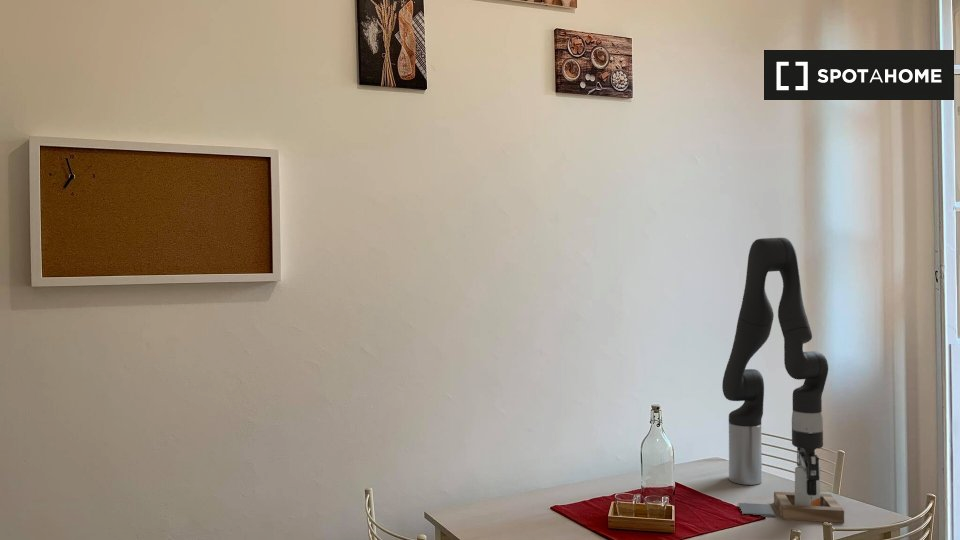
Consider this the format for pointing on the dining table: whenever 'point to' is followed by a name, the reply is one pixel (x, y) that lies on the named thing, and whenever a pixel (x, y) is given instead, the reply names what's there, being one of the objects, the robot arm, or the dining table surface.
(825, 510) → the socket block
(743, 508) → the slate coaster
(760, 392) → the robot arm
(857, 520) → the dining table surface
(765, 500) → the dining table surface
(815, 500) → the skincare box
